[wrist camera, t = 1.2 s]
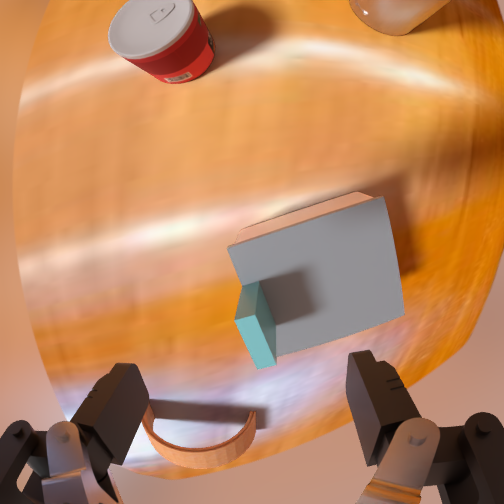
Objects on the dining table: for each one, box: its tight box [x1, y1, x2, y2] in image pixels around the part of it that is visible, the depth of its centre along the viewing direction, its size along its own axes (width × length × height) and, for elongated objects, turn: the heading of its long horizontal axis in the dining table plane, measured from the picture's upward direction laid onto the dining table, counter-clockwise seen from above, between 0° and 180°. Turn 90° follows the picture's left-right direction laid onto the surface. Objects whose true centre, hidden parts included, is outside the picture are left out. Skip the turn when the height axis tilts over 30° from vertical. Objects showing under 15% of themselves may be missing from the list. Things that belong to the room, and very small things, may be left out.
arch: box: [142, 403, 256, 469], centre depth 39 cm, size 6×20×10 cm, turn 90°
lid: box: [227, 196, 405, 369], centre depth 24 cm, size 15×13×8 cm
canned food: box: [108, 0, 215, 84], centre depth 21 cm, size 8×8×11 cm
